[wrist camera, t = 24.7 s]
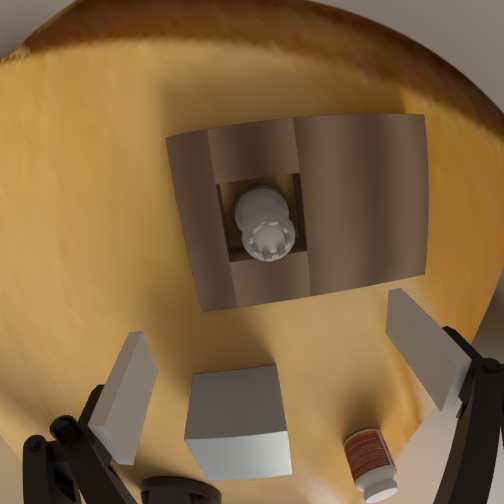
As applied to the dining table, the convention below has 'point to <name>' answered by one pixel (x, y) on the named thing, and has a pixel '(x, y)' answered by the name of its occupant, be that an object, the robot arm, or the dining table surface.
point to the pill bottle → (371, 464)
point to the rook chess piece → (264, 222)
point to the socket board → (307, 204)
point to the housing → (238, 424)
